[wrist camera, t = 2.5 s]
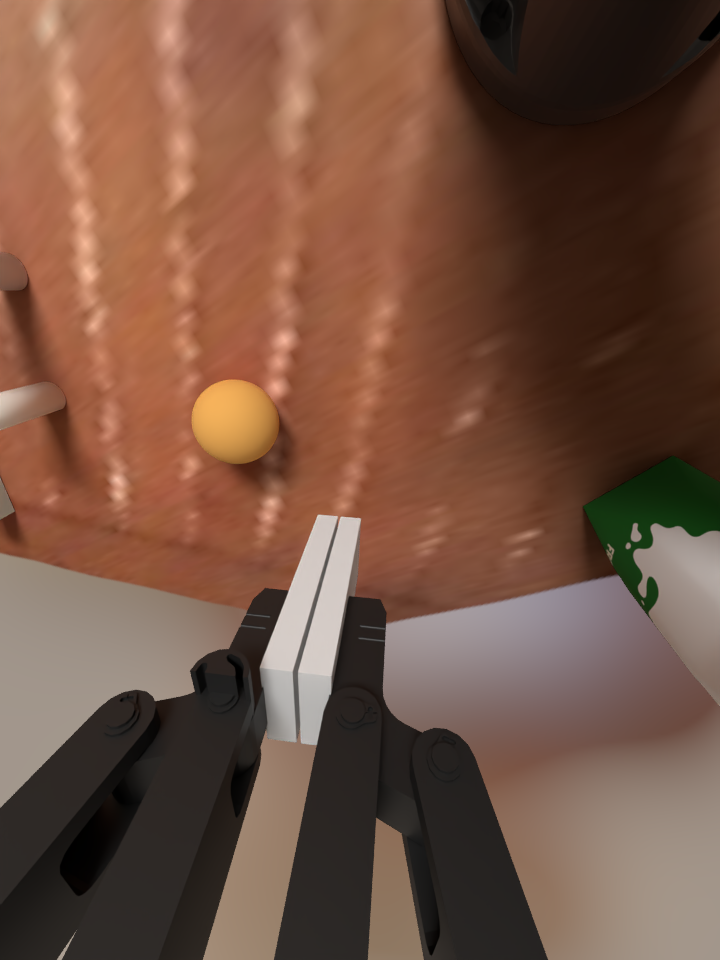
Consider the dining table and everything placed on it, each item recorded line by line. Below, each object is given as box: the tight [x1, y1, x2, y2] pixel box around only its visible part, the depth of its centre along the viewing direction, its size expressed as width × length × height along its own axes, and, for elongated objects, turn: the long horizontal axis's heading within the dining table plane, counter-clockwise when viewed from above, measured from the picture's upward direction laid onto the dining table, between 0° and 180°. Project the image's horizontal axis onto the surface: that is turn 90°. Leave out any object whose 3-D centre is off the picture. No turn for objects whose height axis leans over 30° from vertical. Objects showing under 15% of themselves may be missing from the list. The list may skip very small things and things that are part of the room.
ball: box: [192, 380, 279, 464], centre depth 27 cm, size 6×6×6 cm
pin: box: [0, 381, 66, 430], centre depth 27 cm, size 2×2×8 cm
